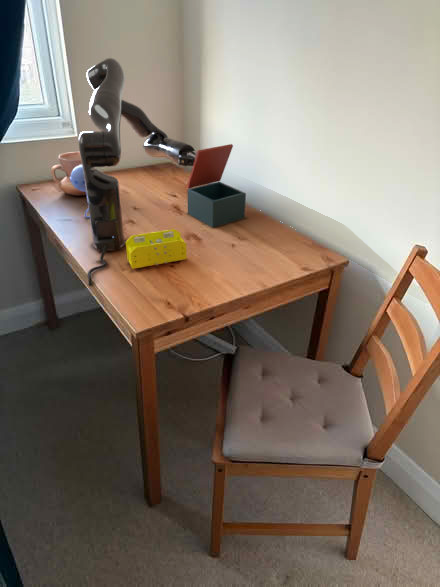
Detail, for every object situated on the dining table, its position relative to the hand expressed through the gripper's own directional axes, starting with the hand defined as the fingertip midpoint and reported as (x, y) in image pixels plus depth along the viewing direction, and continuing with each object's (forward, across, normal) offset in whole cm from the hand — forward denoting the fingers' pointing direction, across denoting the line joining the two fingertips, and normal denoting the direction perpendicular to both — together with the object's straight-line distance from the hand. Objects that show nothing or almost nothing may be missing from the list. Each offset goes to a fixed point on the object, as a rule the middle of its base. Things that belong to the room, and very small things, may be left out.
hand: (208, 164), depth 154 cm
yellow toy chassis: (+22, -34, +17) cm, 44 cm away
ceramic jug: (-44, -29, +17) cm, 56 cm away
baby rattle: (-19, -36, +17) cm, 45 cm away
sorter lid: (+1, 0, +1) cm, 1 cm away
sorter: (+5, 0, +17) cm, 18 cm away
